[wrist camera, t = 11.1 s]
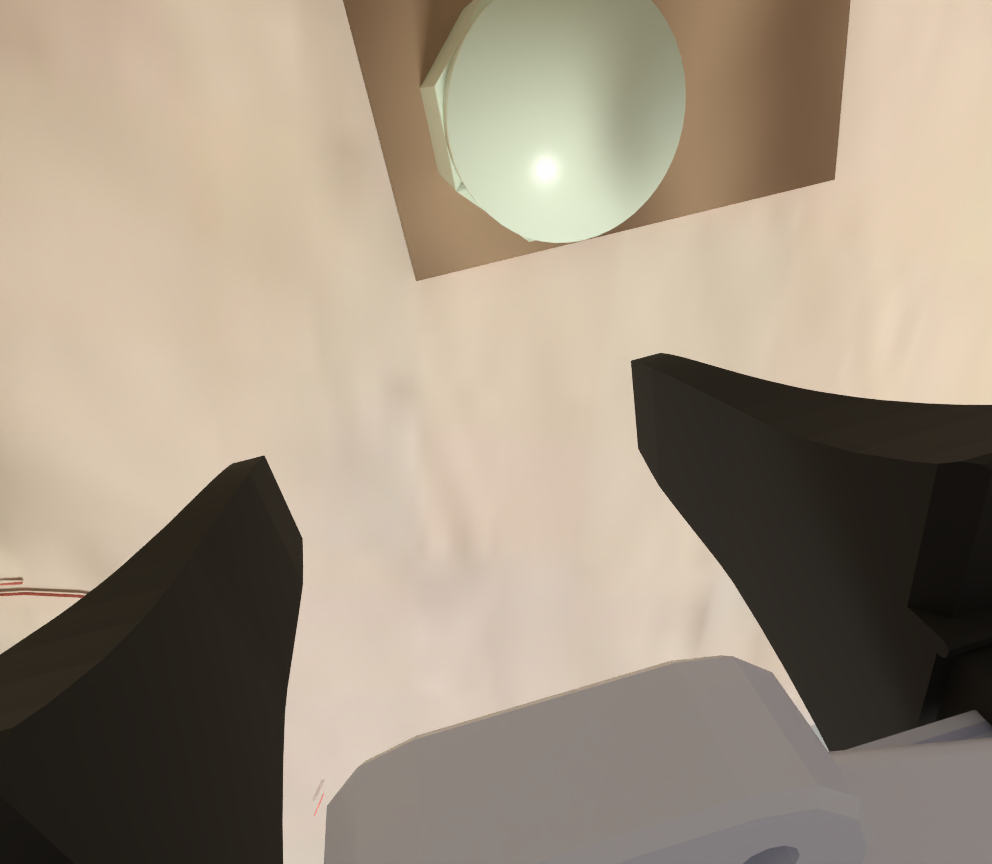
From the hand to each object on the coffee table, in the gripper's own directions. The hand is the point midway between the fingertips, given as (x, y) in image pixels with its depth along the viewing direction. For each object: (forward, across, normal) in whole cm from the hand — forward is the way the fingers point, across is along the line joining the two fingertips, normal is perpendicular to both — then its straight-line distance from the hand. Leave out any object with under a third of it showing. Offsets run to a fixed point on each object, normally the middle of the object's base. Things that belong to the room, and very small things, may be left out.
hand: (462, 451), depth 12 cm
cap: (+9, -4, -5) cm, 11 cm away
